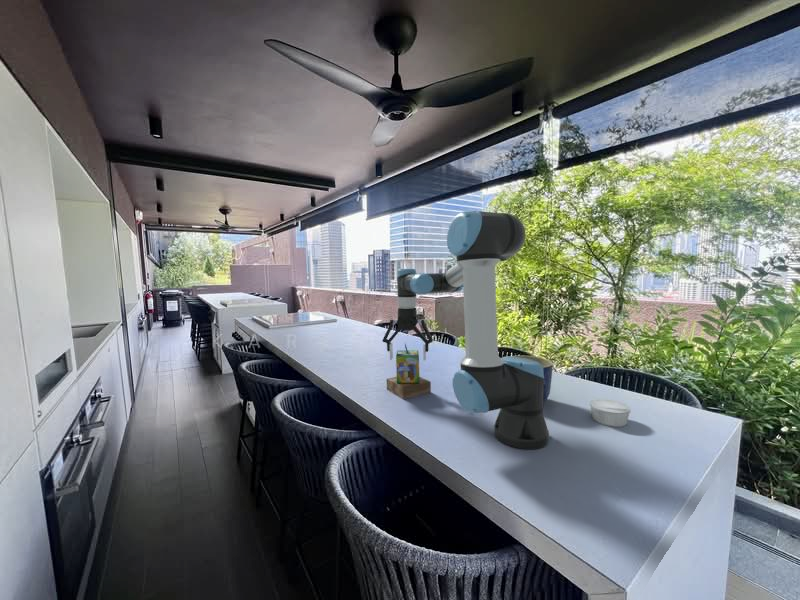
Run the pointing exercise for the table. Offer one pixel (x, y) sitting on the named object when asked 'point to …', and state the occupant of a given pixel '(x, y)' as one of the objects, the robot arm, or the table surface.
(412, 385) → the walnut base block
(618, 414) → the ramekin
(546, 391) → the planter
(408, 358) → the chalk box
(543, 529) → the table surface
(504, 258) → the robot arm
